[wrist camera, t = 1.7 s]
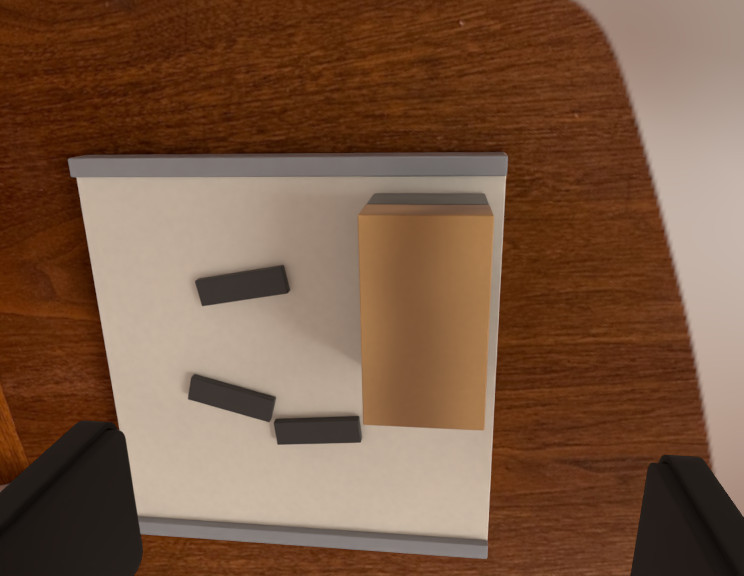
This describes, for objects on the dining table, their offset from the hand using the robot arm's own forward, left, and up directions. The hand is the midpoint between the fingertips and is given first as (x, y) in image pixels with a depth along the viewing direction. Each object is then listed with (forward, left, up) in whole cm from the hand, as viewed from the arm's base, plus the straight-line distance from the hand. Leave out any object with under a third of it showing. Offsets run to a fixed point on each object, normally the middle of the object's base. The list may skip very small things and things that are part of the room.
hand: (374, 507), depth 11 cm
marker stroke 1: (+7, +1, -15) cm, 17 cm away
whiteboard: (+5, +5, -16) cm, 18 cm away
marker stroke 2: (+8, +6, -15) cm, 19 cm away
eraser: (-1, +1, -15) cm, 15 cm away
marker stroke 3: (+4, +8, -15) cm, 18 cm away
